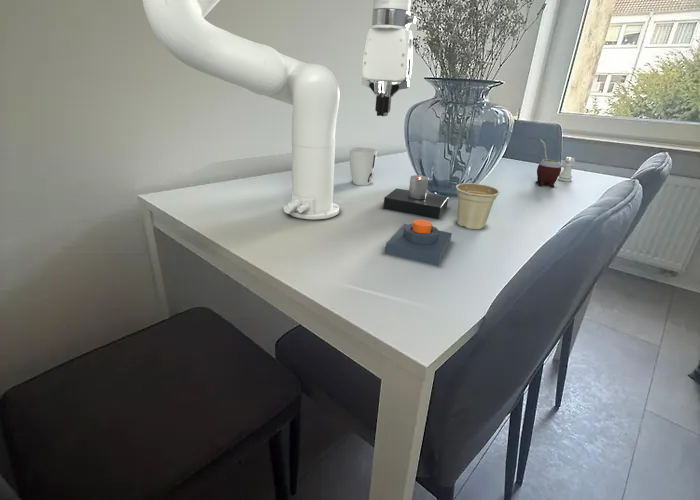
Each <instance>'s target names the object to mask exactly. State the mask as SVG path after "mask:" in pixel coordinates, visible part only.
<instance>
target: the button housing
mask: <svg viewBox="0 0 700 500" xmlns="http://www.w3.org/2000/svg"><path fill="white" fill-rule="evenodd" d="M412 227H413V222H411V223H403V225H401V226H400V227H399V229H398V230H396V232H395V233H394V234H393V235H392V236H391V237H390V239H389V240H388V241H387V242H386V243H385V250H384V253H385V255H389V256H394V257H398V258H402V259H408V260H410V261H415V262H420V263H424V264H428V265H433V266H437V267H438V266H439V265H440V263H441V261H442V260H443V257H444V255H445V253H446V252H447V250H448V248H449V246H450V243H451V240H452V235H453V233H452V232H448V231H445V230H439V229H438V228H437V227H436V226H433V225H432V228H431V233H417V232H415V231H412Z"/></svg>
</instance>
